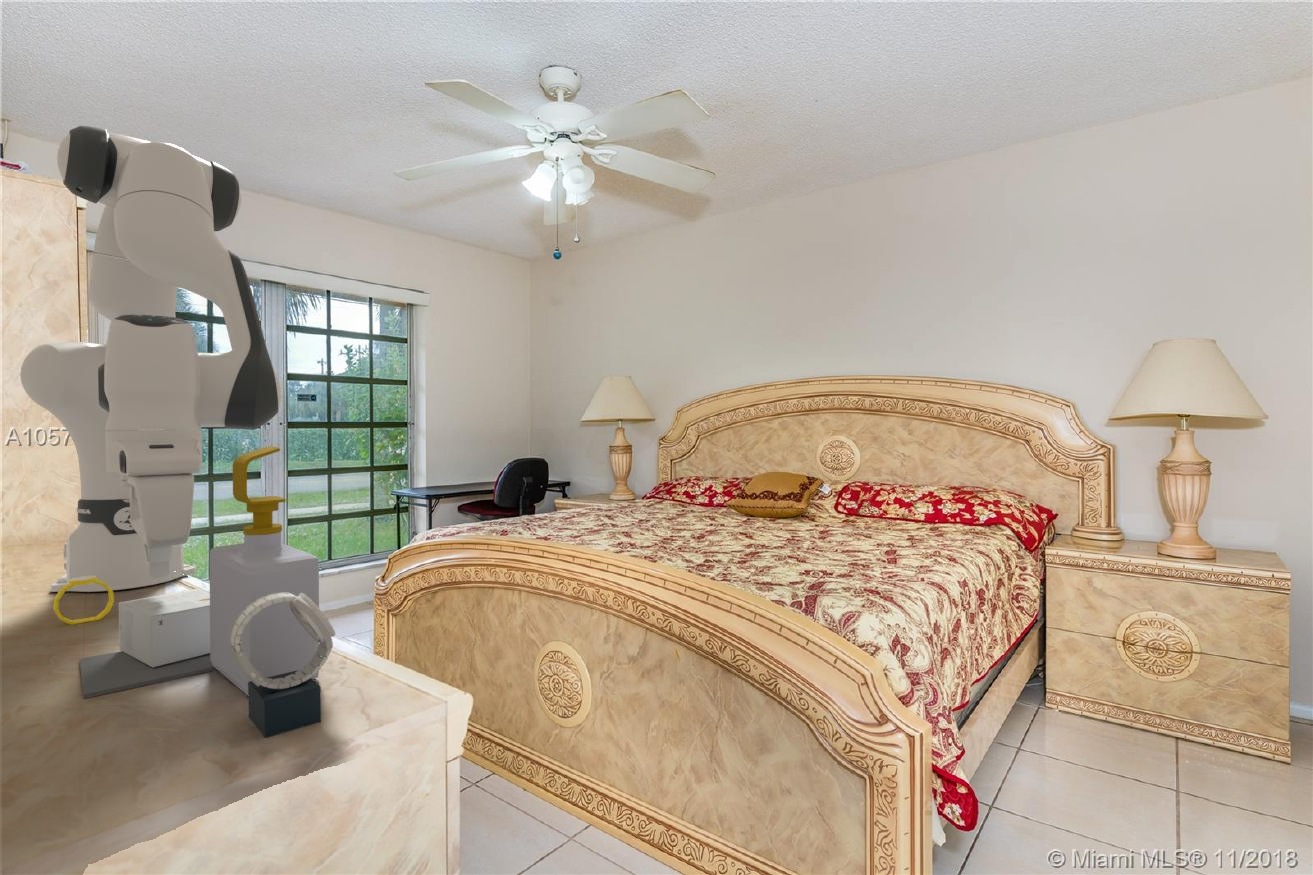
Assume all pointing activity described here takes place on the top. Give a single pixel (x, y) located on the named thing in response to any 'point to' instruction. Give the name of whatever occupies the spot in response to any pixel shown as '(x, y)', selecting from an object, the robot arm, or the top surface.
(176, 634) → the small box
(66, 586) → the watch
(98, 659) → the mat
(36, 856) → the top surface
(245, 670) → the watch
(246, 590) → the soap bottle
